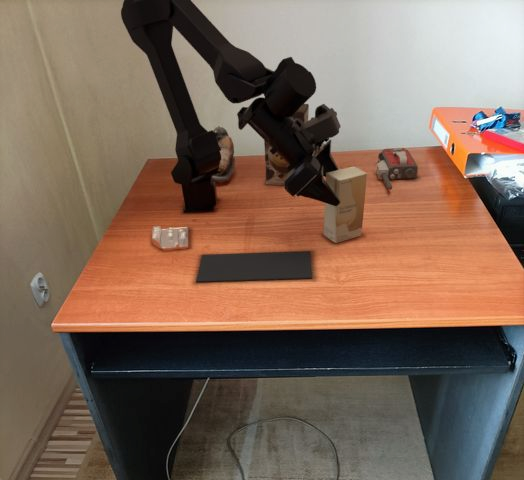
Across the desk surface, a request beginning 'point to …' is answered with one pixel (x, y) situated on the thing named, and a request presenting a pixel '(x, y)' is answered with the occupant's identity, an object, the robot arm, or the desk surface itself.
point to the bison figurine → (224, 155)
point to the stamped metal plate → (170, 238)
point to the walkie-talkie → (396, 165)
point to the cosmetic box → (345, 204)
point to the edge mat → (255, 266)
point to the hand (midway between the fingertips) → (340, 193)
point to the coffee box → (276, 163)
